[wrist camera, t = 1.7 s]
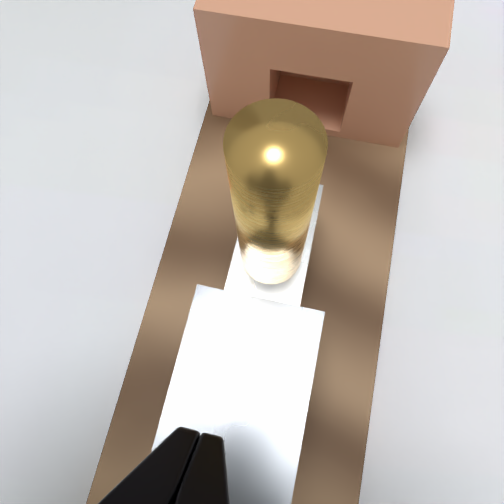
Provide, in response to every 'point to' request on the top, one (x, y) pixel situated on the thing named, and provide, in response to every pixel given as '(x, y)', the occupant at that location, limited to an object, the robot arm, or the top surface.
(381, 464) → the top surface
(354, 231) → the walnut board
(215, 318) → the grey rectangular block
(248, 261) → the sliding bolt with handle
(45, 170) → the top surface
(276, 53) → the terracotta socket
